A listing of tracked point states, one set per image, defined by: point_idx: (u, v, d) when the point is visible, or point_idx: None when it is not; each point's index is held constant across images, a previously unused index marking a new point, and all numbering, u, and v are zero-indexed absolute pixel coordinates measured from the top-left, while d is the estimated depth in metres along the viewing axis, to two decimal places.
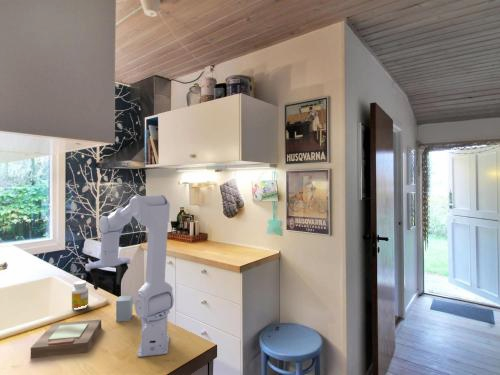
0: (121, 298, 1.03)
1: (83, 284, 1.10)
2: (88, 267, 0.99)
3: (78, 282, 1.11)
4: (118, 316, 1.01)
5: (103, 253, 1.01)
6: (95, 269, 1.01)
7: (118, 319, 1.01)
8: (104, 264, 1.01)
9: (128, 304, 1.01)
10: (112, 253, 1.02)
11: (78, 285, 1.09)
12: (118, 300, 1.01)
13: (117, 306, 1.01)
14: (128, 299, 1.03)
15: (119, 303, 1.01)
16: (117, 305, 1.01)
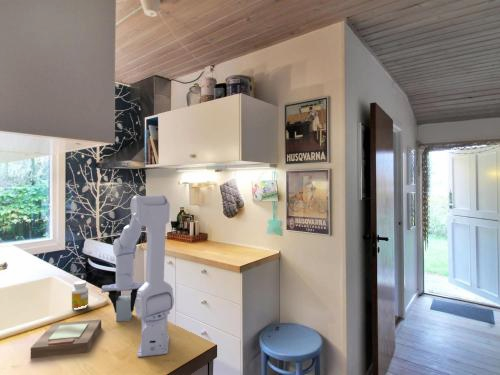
0: (121, 298, 1.03)
1: (83, 284, 1.10)
2: (102, 289, 1.01)
3: (78, 282, 1.11)
4: (118, 316, 1.01)
5: (116, 276, 1.01)
6: (110, 292, 1.01)
7: (118, 319, 1.01)
8: (116, 287, 1.01)
9: (128, 304, 1.01)
10: (123, 276, 1.00)
11: (78, 285, 1.09)
12: (118, 300, 1.01)
13: (117, 306, 1.01)
14: (128, 299, 1.03)
15: (119, 303, 1.01)
16: (117, 305, 1.01)
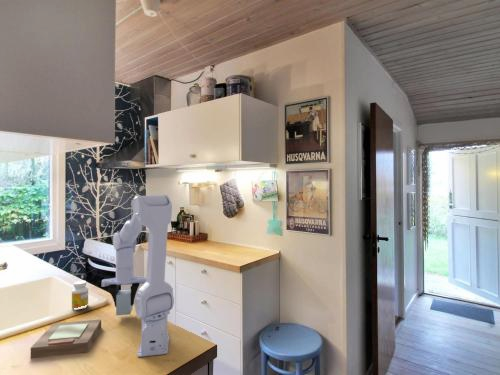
0: (121, 292, 1.03)
1: (83, 284, 1.10)
2: (102, 283, 1.01)
3: (78, 282, 1.11)
4: (118, 310, 1.01)
5: (116, 270, 1.01)
6: (110, 285, 1.01)
7: (118, 313, 1.01)
8: (116, 281, 1.00)
9: (128, 298, 1.01)
10: (123, 270, 1.00)
11: (78, 285, 1.09)
12: (118, 294, 1.01)
13: (117, 300, 1.01)
14: (129, 292, 1.03)
15: (120, 297, 1.01)
16: (117, 299, 1.01)
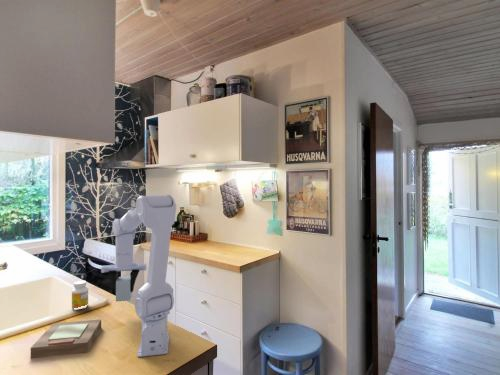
0: (121, 278, 1.03)
1: (83, 284, 1.10)
2: (102, 269, 1.00)
3: (78, 282, 1.11)
4: (118, 296, 1.01)
5: (116, 256, 1.01)
6: (109, 272, 1.01)
7: (118, 299, 1.01)
8: (116, 267, 1.00)
9: (128, 284, 1.01)
10: (122, 256, 1.00)
11: (78, 285, 1.09)
12: (118, 280, 1.01)
13: (117, 286, 1.00)
14: (128, 279, 1.02)
15: (119, 283, 1.01)
16: (117, 285, 1.00)
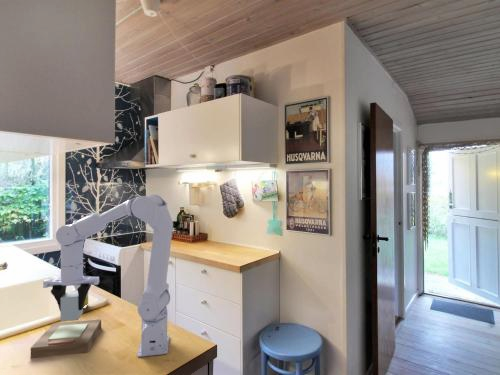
0: (68, 294, 0.88)
1: None
2: (44, 283, 0.86)
3: None
4: (63, 315, 0.86)
5: None
6: (53, 286, 0.86)
7: (63, 318, 0.86)
8: (61, 281, 0.86)
9: (75, 301, 0.86)
10: (68, 269, 0.85)
11: (78, 285, 1.09)
12: (63, 296, 0.86)
13: (62, 303, 0.86)
14: (76, 295, 0.88)
15: (65, 300, 0.86)
16: (62, 302, 0.86)
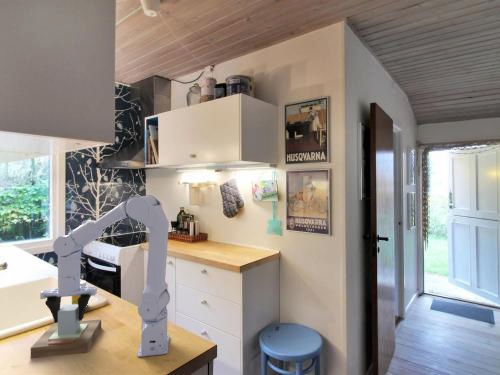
0: (65, 307, 0.88)
1: (83, 284, 1.10)
2: (41, 294, 0.85)
3: None
4: (60, 329, 0.85)
5: (58, 279, 0.86)
6: (51, 297, 0.86)
7: (60, 332, 0.85)
8: (58, 292, 0.85)
9: (72, 315, 0.86)
10: (65, 280, 0.85)
11: None
12: (61, 310, 0.86)
13: (59, 317, 0.85)
14: (74, 308, 0.87)
15: (62, 314, 0.85)
16: (59, 316, 0.85)
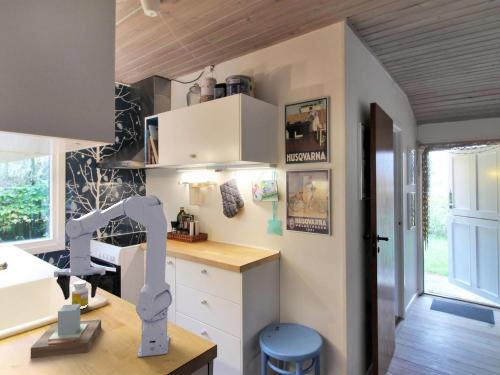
0: (65, 307, 0.88)
1: (83, 284, 1.10)
2: (55, 273, 0.92)
3: (78, 282, 1.11)
4: (60, 329, 0.85)
5: (70, 259, 0.93)
6: (63, 276, 0.93)
7: (60, 332, 0.85)
8: (70, 271, 0.92)
9: (72, 315, 0.86)
10: (77, 259, 0.92)
11: (78, 285, 1.09)
12: (61, 310, 0.86)
13: (59, 317, 0.85)
14: (74, 308, 0.87)
15: (62, 314, 0.85)
16: (59, 316, 0.85)
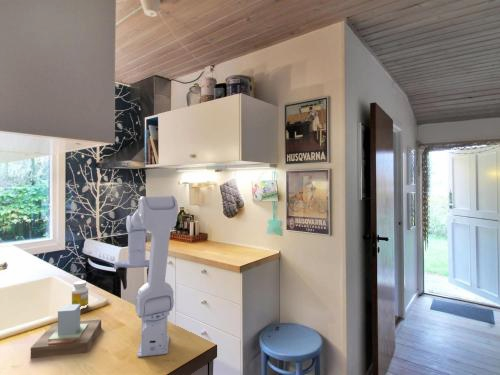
0: (65, 307, 0.88)
1: (83, 284, 1.10)
2: (115, 265, 1.01)
3: (78, 282, 1.11)
4: (60, 329, 0.85)
5: (128, 252, 1.02)
6: (122, 268, 1.02)
7: (60, 332, 0.85)
8: (129, 263, 1.01)
9: (72, 315, 0.86)
10: (135, 253, 1.01)
11: (78, 285, 1.09)
12: (61, 310, 0.86)
13: (59, 317, 0.85)
14: (74, 308, 0.87)
15: (62, 314, 0.85)
16: (59, 316, 0.85)
